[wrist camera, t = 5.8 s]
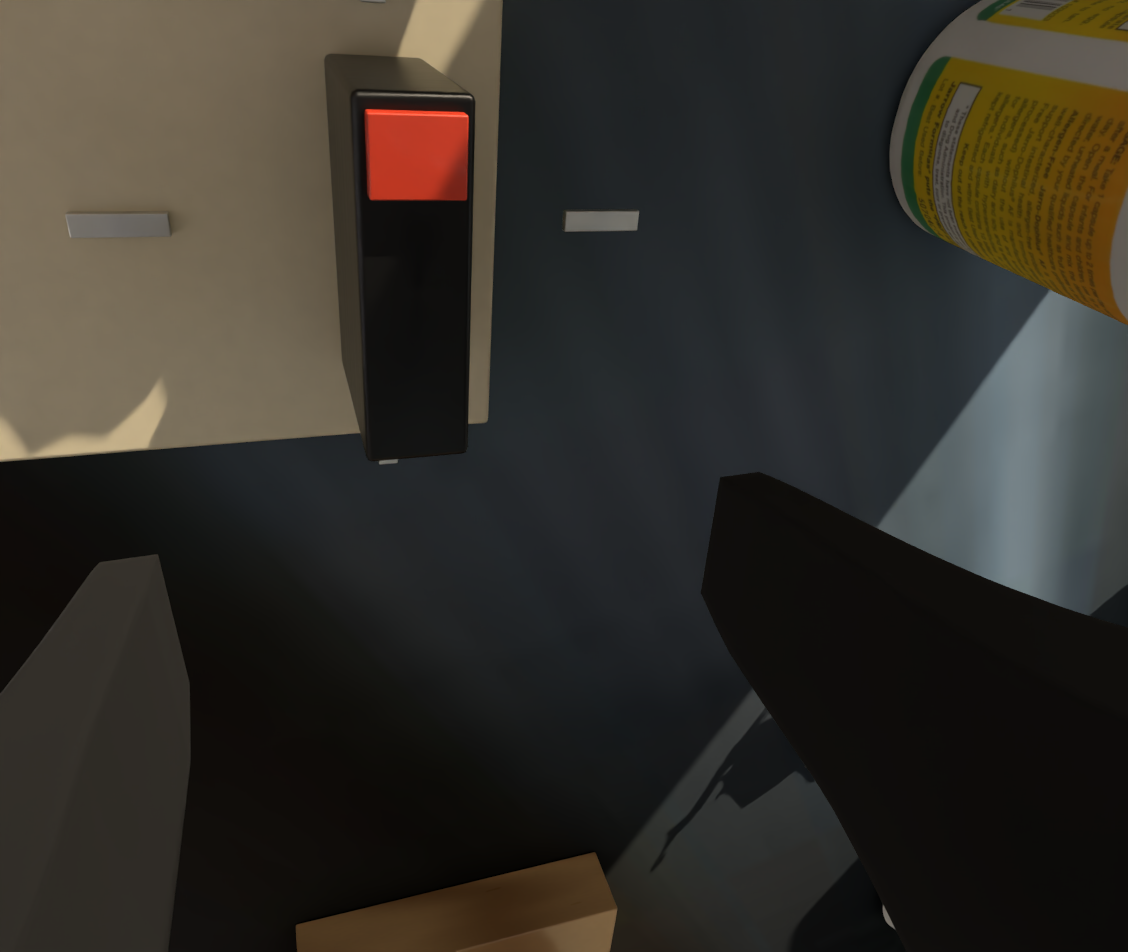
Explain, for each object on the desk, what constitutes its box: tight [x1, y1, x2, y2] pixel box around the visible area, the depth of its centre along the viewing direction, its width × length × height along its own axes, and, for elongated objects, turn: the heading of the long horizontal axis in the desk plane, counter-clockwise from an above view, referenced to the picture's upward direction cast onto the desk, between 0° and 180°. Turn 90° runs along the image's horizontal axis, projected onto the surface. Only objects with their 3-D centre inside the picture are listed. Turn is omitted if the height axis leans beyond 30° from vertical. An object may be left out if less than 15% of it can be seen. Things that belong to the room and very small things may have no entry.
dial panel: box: [0, 0, 639, 465], centre depth 15 cm, size 13×9×3 cm
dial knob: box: [324, 54, 476, 461], centre depth 13 cm, size 5×2×4 cm, turn 175°
